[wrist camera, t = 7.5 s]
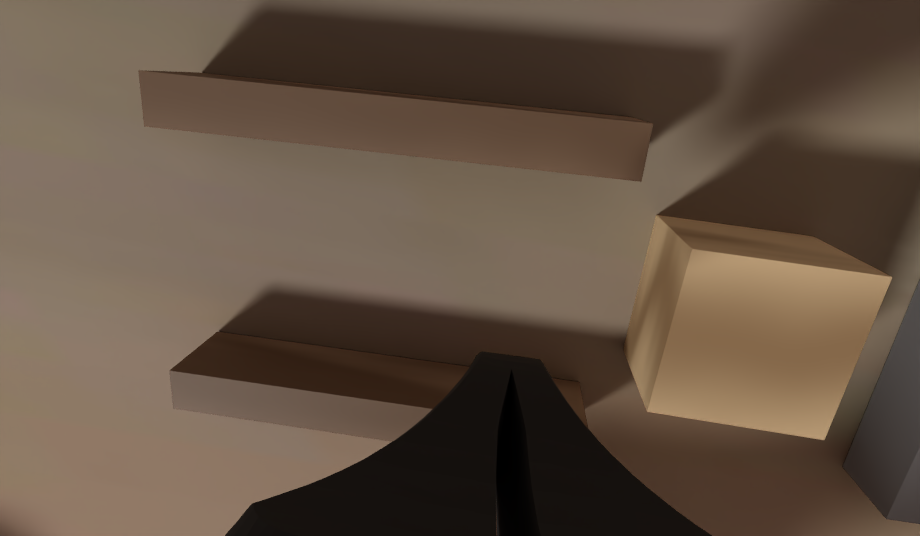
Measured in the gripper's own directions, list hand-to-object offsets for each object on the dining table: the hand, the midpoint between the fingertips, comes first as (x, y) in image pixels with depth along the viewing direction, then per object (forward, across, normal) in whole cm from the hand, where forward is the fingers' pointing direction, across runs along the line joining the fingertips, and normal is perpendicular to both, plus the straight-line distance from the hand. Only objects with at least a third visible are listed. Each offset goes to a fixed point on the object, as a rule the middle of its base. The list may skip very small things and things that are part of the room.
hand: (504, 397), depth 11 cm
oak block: (+8, -7, 0) cm, 11 cm away
